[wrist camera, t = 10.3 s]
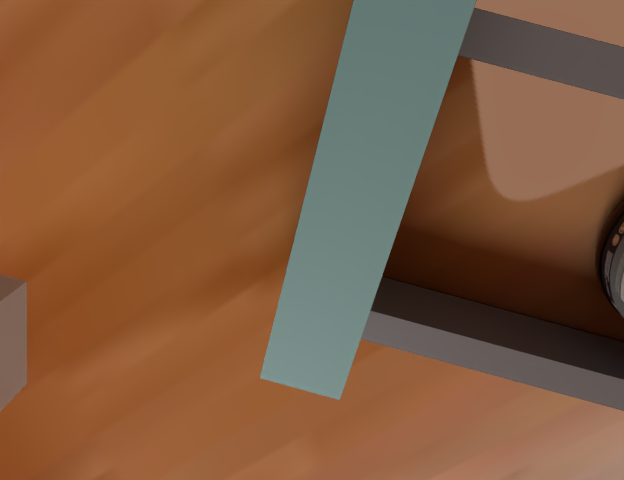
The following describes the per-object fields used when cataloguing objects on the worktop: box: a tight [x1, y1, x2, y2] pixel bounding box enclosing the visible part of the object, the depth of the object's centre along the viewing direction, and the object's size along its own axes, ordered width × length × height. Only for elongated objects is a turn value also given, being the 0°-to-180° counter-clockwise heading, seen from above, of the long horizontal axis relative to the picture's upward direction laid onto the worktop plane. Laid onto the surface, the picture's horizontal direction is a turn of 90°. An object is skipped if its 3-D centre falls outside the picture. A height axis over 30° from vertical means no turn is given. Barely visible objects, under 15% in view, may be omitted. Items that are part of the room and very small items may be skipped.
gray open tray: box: [260, 0, 624, 411], centre depth 25 cm, size 18×29×10 cm, turn 76°
